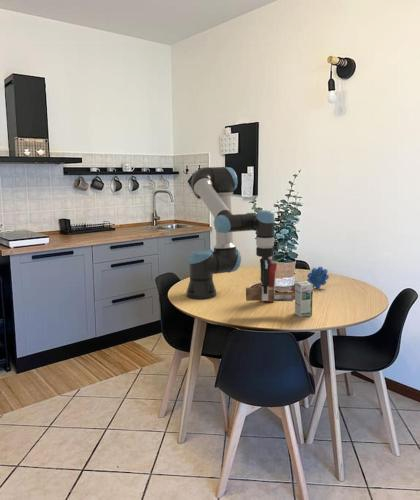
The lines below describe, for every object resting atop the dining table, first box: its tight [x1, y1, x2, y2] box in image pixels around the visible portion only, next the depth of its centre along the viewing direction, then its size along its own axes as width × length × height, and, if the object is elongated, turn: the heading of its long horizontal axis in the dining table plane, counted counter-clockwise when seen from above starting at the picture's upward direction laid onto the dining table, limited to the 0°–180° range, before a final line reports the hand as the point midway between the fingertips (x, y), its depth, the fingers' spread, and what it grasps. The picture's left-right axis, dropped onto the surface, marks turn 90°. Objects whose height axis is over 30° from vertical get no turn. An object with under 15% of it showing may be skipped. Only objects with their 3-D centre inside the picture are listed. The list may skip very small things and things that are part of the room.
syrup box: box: [294, 280, 314, 318], centre depth 195 cm, size 6×6×14 cm
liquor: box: [263, 256, 278, 303], centre depth 213 cm, size 7×7×28 cm
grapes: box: [306, 266, 330, 289], centre depth 237 cm, size 12×7×12 cm, turn 86°
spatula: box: [245, 286, 294, 302], centre depth 194 cm, size 20×6×5 cm, turn 89°
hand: (264, 298), depth 195 cm, fingers closed on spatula, 3 cm apart
